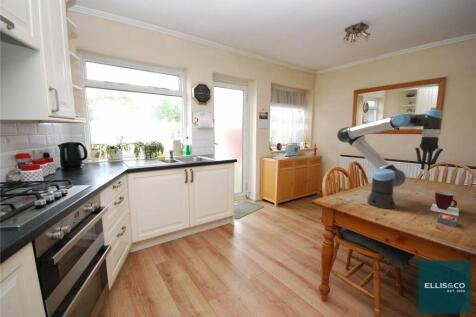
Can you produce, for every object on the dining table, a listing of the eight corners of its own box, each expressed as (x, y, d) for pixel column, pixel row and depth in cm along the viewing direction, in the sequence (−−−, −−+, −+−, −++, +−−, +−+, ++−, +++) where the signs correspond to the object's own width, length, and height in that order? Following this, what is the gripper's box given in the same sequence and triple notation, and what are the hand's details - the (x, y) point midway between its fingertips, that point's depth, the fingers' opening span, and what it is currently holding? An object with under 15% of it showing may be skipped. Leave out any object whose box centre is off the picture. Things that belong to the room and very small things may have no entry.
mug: (459, 211, 124) (462, 195, 122) (452, 213, 121) (455, 197, 119) (437, 205, 133) (439, 190, 132) (430, 207, 130) (432, 192, 129)
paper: (458, 216, 117) (458, 215, 117) (430, 210, 126) (430, 209, 126) (458, 209, 128) (459, 208, 128) (432, 204, 137) (432, 203, 137)
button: (452, 223, 105) (453, 218, 105) (440, 220, 109) (441, 216, 108) (453, 220, 108) (453, 216, 108) (441, 218, 112) (442, 213, 111)
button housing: (455, 227, 104) (456, 221, 103) (437, 222, 109) (438, 217, 109) (456, 223, 108) (456, 217, 108) (438, 219, 113) (439, 213, 113)
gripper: (418, 136, 121) (412, 175, 125) (447, 137, 115) (441, 177, 119) (414, 136, 128) (409, 172, 131) (442, 136, 122) (435, 175, 125)
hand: (424, 175), depth 125 cm, fingers closed
